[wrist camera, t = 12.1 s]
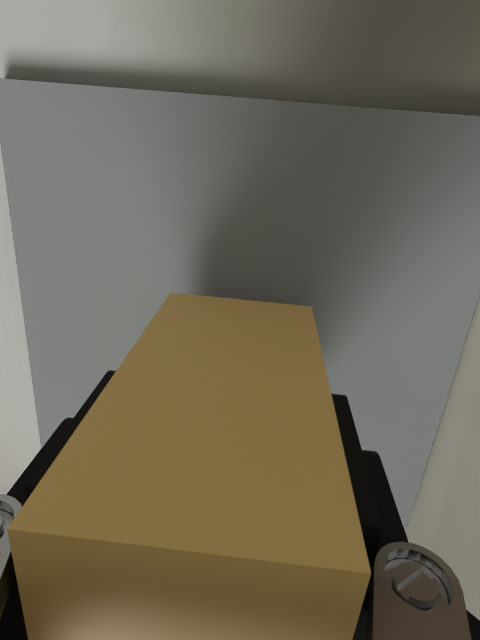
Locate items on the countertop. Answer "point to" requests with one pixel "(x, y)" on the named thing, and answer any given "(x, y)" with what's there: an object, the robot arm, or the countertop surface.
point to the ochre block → (200, 491)
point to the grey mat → (248, 239)
